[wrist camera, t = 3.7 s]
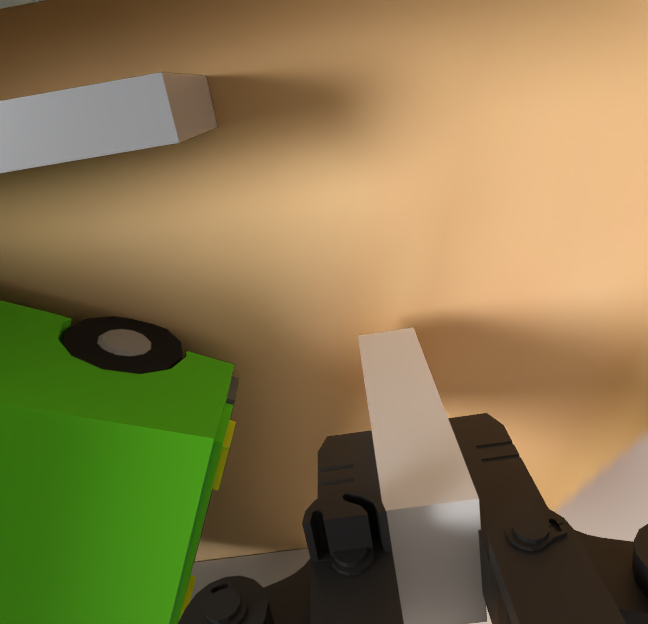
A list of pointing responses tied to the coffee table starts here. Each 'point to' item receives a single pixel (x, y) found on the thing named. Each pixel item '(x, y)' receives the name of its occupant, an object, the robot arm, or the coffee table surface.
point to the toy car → (104, 467)
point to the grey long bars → (116, 137)
